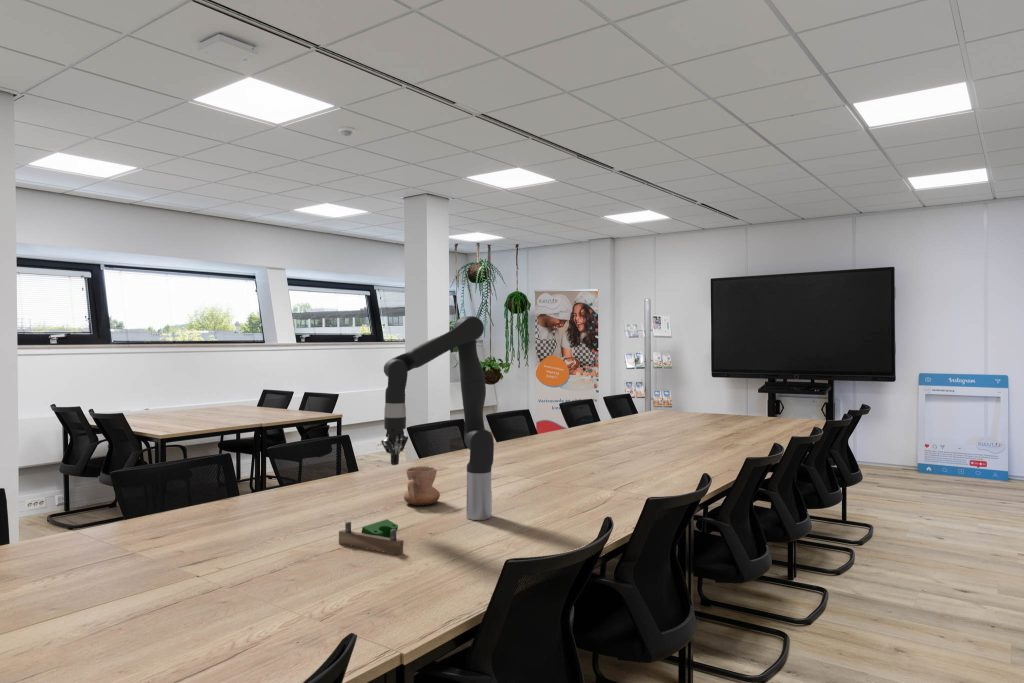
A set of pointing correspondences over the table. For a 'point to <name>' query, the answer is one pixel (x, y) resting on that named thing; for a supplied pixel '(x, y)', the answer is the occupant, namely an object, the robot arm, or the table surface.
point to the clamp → (380, 528)
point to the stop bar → (371, 540)
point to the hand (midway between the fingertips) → (394, 464)
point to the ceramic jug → (421, 486)
